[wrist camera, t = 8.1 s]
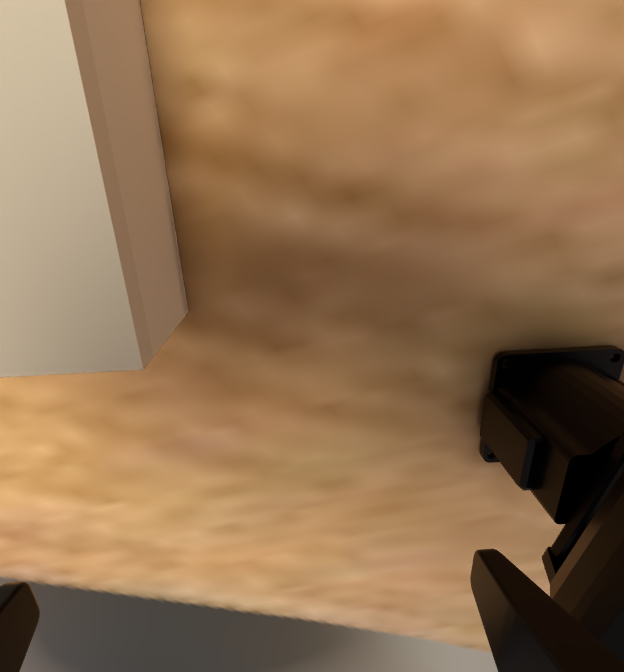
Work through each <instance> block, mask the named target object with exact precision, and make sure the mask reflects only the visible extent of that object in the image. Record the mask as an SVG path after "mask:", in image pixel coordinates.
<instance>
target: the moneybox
mask: <svg viewBox="0 0 624 672" xmlns="http://www.w3.org/2000/svg"><path fill="white" fill-rule="evenodd" d="M187 313H188V306H187V300H186V294H185V287H184V281H183V274H182V268H181V262H180V255H179V249H178V243H177V236H176V230H175V224H174V217H173V211H172V204H171V198H170V192H169V185H168V179H167V173H166V166H165V160H164V153H163V147H162V141H161V134H160V128H159V122H158V115H157V109H156V103H155V96H154V90H153V83H152V77H151V71H150V64H149V58H148V52H147V45H146V39H145V33H144V26H143V20H142V13H141V7H140V1H139V0H0V377H17V376H36V375H55V374H74V373H94V372H113V371H132V370H144V369H145V367H146V366H147V365H148V363H149V362H150V361H151V360H152V358H153V357H154V356H155V354H156V353H157V352H158V351H159V349H160V348H161V347H162V345H163V344H164V343H165V342H166V340H167V339H168V338H169V337H170V335H171V334H172V333H173V331H174V330H175V329H176V328H177V326H178V325H179V324H180V322H181V321H182V320H183V319H184V317H185V316H186V315H187Z"/></svg>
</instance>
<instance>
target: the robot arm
mask: <svg viewBox="0 0 624 672" xmlns="http://www.w3.org/2000/svg"><path fill="white" fill-rule="evenodd" d="M612 355H614V356H613V357H612V358H611V356H612ZM610 358H611V359H610ZM507 359H508V362H507V363H506V364H504V365H502V363H503V361H504V360H507ZM623 364H624V351H623V350H622V349H620V348H618V347H616V346H598V347H579V348H560V349H540V350H521V351H504V352H500V353H499V354H497V355H496V356H495V358H494V360H493V366H492V373H491V379H490V386H489V392H488V393H487V394H486V396H485V402H484V408H483V415H482V422H481V429H480V436H481V437H482V440H481V446H480V454H481V456H482V457H483V459H484V460H485V461H486V462H501V464H502V465H503V467H504V468H505V469H506V471H507V472H508V473H509V475H510V476H511V477H512V479H513V480H514V481H515V483H516V484H517V485H518V486H519V487H520V488H521V489H522V490H530V491H531V492H532V493H533V495H534V496H535V497H536V498H537V500H538V501H539V502H540V504H541V505H542V506H543V508H544V509H545V510H546V511H547V513H548V514H549V515H550V517H551V518H552V519H553V520H554V522H555V523H556V524H565V526H564V527H563V529H562V531H561V532H560V534H559V535H558V537H557V539H556V540H555V542H554V543H553V545H552V547H548V548H547V549H546V551H545V552H544V554H543V556H542V560H543V563H544V567H545V570H546V573H547V576H548V579H549V583H550V596H548V595H547V594H546V593H545V592H544V591H543V590H542V589H541V588H539V587H538V586H537V585H536V584H535V583H534V582H533V581H532V580H531V579H529V578H528V577H527V576H526V575H525V574H524V573H523V572H522V571H520V570H519V569H518V568H517V567H516V566H515V565H514V564H513V563H511V562H510V561H509V560H508V559H507V558H506V557H505V556H504V555H502V554H501V553H500V552H499V551H497V550H495V549H482V550H477V551H476V552H475V554H474V558H473V564H472V571H471V578H470V579H471V587H472V591H473V594H474V598H475V601H476V604H477V607H478V610H479V613H480V616H481V619H482V623H483V626H484V629H485V632H486V635H487V638H488V641H489V645H490V648H491V651H492V654H493V657H494V660H495V663H496V666H497V669H498V672H624V383H623V382H621V381H619V378H620V374H621V371H622V367H623ZM491 451H492V453H491V454H488V453H489V452H491ZM39 615H40V609H39V606H38V603H37V601H36V599H35V596H34V594H33V592H32V589H31V587H30V585H29V584H28V583H26V582H13V583H6V584H3V585H2V586H0V672H19V671H20V669H21V666H22V663H23V661H24V658H25V656H26V653H27V650H28V648H29V645H30V642H31V640H32V637H33V635H34V632H35V629H36V627H37V624H38V621H39Z"/></svg>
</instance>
